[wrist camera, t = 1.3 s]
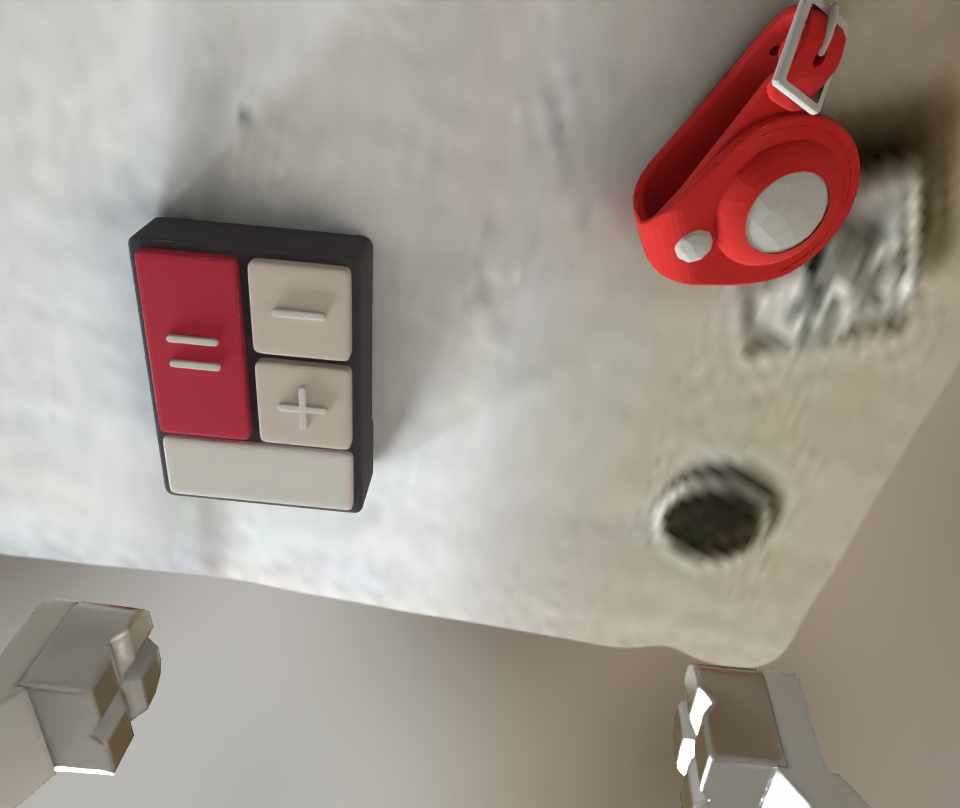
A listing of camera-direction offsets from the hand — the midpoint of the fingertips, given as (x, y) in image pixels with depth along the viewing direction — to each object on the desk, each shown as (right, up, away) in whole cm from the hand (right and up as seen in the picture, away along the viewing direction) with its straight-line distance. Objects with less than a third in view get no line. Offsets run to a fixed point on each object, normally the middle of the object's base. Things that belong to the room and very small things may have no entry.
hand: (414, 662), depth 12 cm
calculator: (-10, +7, +32) cm, 34 cm away
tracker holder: (+14, +15, +24) cm, 32 cm away
